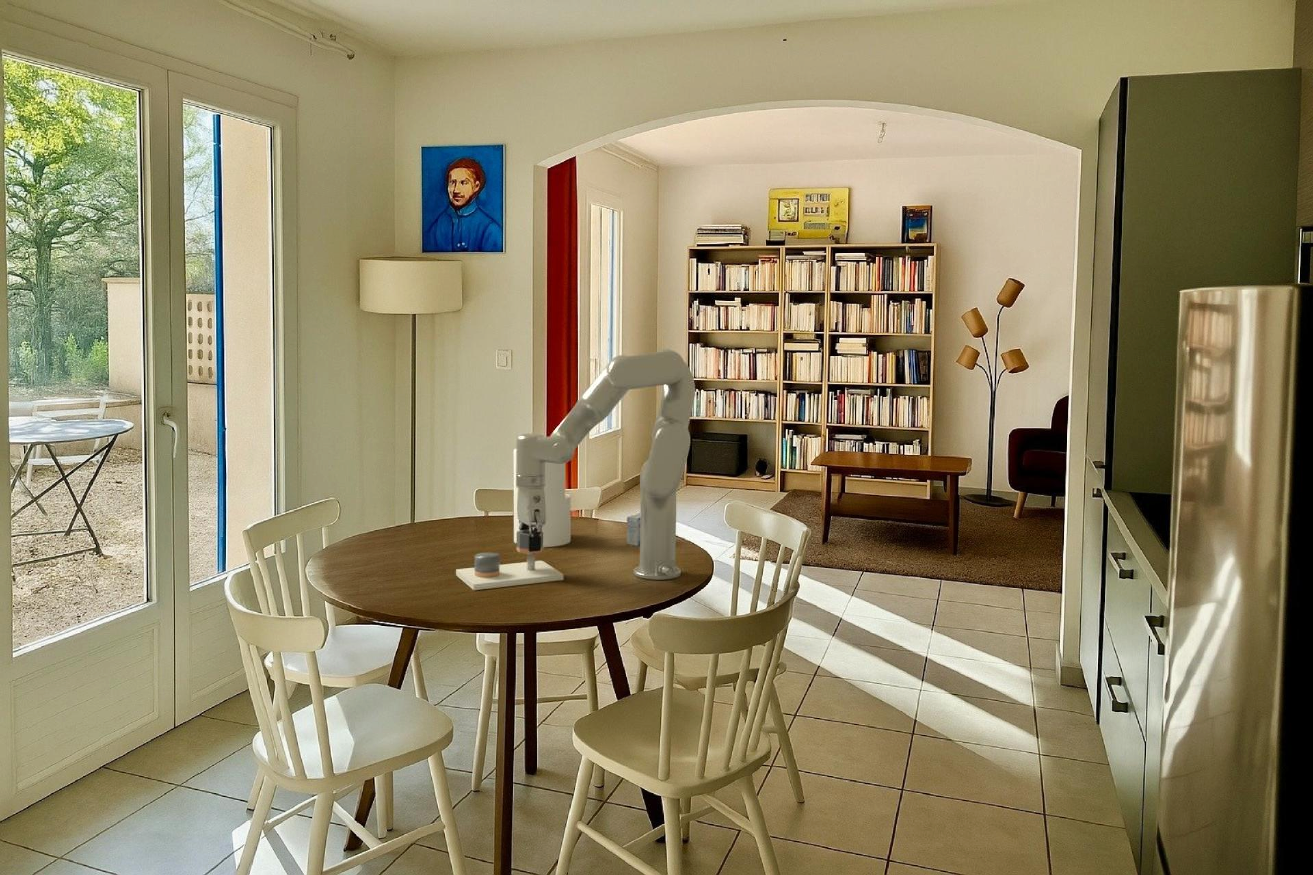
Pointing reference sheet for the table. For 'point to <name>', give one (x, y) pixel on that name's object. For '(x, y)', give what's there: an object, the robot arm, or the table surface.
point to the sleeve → (526, 542)
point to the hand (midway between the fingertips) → (529, 547)
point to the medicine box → (633, 530)
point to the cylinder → (551, 506)
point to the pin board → (506, 572)
